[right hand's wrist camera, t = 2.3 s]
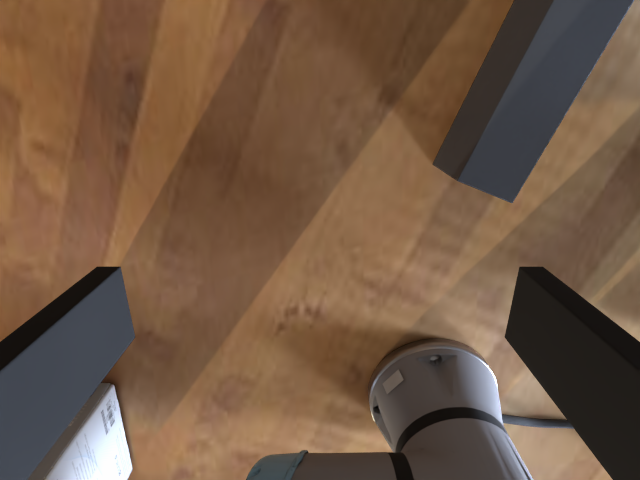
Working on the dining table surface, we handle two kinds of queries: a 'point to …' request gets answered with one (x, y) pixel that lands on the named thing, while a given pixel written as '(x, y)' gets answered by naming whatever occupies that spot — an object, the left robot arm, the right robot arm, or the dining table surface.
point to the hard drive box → (90, 443)
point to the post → (526, 90)
